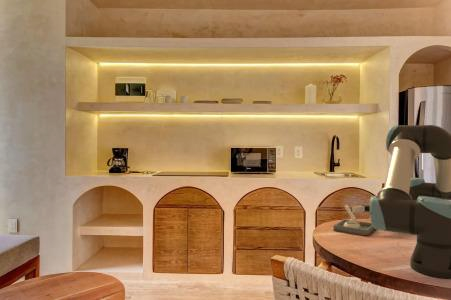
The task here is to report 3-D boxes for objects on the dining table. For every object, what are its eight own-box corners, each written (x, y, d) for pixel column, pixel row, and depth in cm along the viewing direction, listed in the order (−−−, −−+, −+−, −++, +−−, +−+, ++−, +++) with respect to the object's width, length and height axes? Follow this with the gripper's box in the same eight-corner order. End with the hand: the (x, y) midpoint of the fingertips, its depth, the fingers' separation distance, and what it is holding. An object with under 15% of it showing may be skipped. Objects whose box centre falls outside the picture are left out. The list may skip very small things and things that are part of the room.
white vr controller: (336, 212, 173) (348, 205, 171) (350, 233, 168) (362, 226, 166) (333, 211, 167) (346, 204, 165) (347, 233, 162) (360, 226, 160)
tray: (367, 235, 152) (367, 230, 152) (333, 230, 160) (333, 225, 160) (375, 228, 164) (375, 223, 164) (343, 224, 173) (343, 219, 173)
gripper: (418, 223, 157) (379, 226, 151) (381, 212, 181) (346, 214, 175) (419, 207, 156) (379, 209, 151) (381, 198, 181) (346, 200, 175)
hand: (361, 212), depth 163 cm, fingers open, 13 cm apart
